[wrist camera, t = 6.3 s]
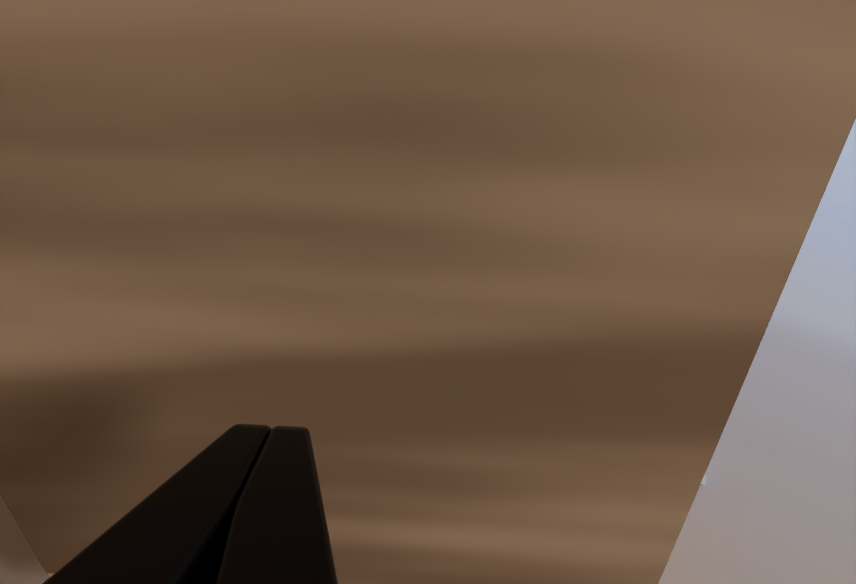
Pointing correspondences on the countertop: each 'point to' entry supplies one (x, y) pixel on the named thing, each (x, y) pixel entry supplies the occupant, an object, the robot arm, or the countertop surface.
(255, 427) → the robot arm
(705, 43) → the walnut slab
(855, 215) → the countertop surface
